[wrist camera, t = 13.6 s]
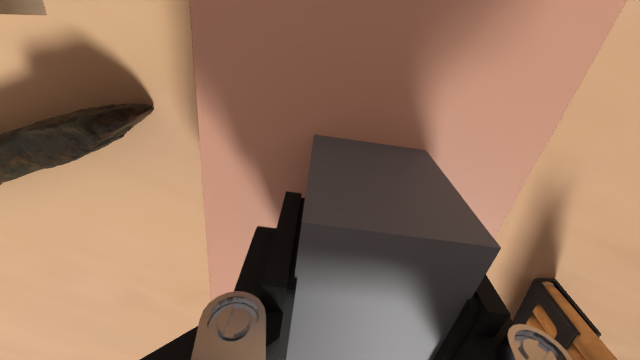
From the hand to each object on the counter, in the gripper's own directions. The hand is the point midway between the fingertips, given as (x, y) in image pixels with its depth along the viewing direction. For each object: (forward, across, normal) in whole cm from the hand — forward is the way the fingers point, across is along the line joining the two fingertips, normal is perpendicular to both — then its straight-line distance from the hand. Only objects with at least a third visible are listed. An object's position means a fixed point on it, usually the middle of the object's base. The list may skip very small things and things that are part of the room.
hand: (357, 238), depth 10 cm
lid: (+4, 0, 0) cm, 4 cm away
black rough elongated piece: (+11, +22, +3) cm, 25 cm away
